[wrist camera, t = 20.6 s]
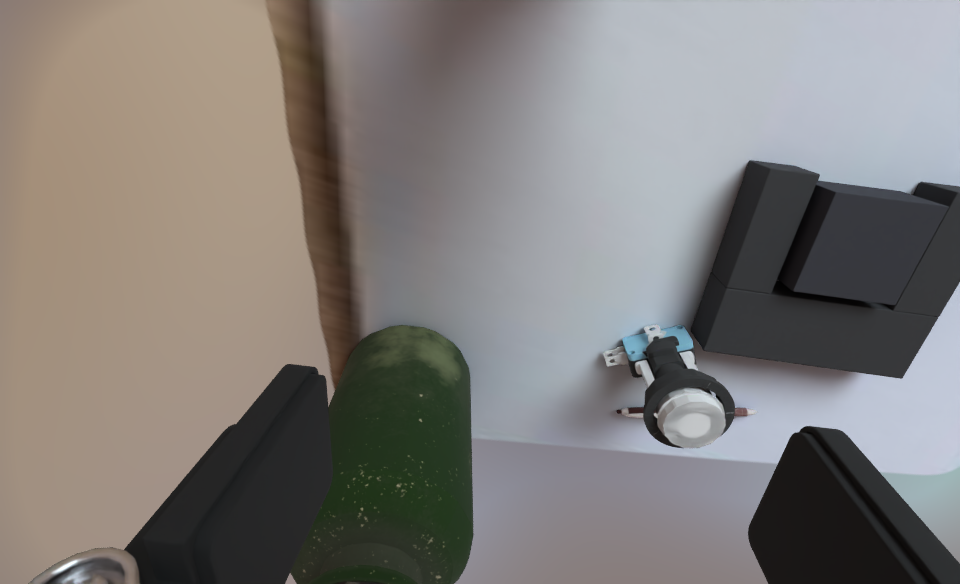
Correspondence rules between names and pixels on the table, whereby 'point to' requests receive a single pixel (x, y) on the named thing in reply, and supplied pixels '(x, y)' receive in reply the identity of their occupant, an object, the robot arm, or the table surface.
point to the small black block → (859, 242)
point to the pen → (638, 413)
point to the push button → (675, 388)
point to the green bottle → (396, 466)
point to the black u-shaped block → (809, 317)
